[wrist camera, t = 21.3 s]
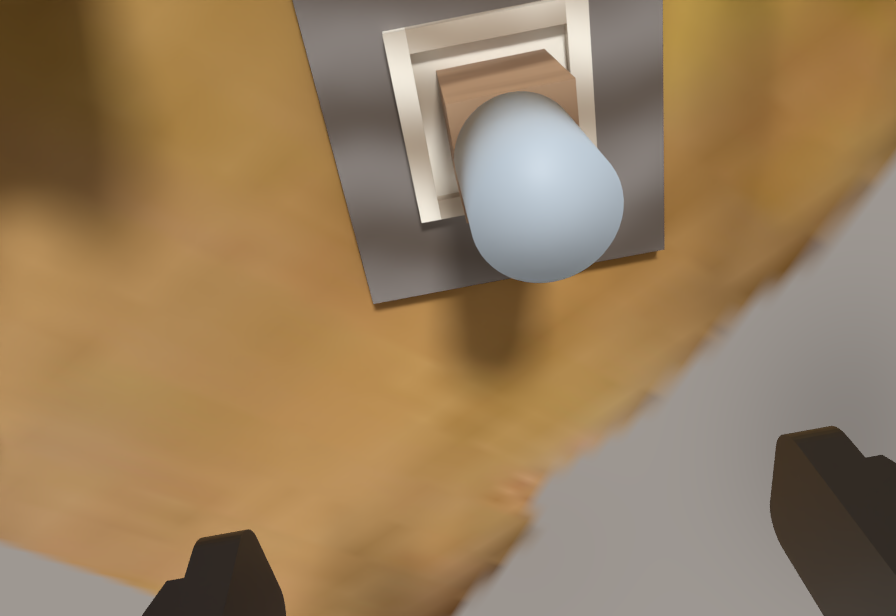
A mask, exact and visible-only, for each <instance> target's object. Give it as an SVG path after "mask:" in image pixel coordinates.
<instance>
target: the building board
mask: <svg viewBox="0 0 896 616" xmlns="http://www.w3.org/2000/svg"><path fill="white" fill-rule="evenodd" d="M293 4H294V8H295V12H296V15H297V19H298V23H299V27H300V30H301V34H302V38H303V42H304V45H305V49H306V53H307V57H308V60H309V64H310V68H311V72H312V75H313V79H314V83H315V87H316V90H317V94H318V98H319V101H320V105H321V109H322V113H323V116H324V120H325V124H326V128H327V131H328V135H329V139H330V143H331V146H332V150H333V154H334V158H335V161H336V165H337V169H338V173H339V176H340V180H341V184H342V188H343V191H344V195H345V199H346V203H347V206H348V210H349V214H350V218H351V221H352V225H353V229H354V233H355V236H356V240H357V244H358V248H359V251H360V255H361V259H362V263H363V266H364V270H365V274H366V278H367V281H368V285H369V289H370V293H371V296H372V300H373V304H376V303H381V302H386V301H392V300H397V299H402V298H408V297H413V296H418V295H424V294H429V293H434V292H440V291H445V290H450V289H456V288H461V287H466V286H472V285H477V284H482V283H488V282H493V281H498V280H504V279H509V278H510V277H508V276H506V275H504V274H502V273H500V272H499V271H497V270H496V269H494V268H493V267H492V266H491V265H490V264H489V263H488V262H487V261H486V260H485V259H484V258H483V256H482V255H481V254H480V252H479V250H478V249H477V247H476V245H475V242H474V240H473V237H472V233H471V229H470V225H469V223H466V219H465V214H464V210H463V206H462V202H461V198H460V194H459V190H458V186H457V182H456V178H455V173H454V168H453V162H452V157H451V151H450V146H449V140H448V135H447V129H446V124H445V118H444V113H443V107H442V102H441V96H440V91H439V85H438V80H437V74H436V70H441V69H446V68H451V67H456V66H461V65H466V64H471V63H476V62H481V61H486V60H491V59H496V58H501V57H506V56H511V55H516V54H521V53H526V52H531V51H535V50H540V49H545V50H546V51H547V52H548V53H549V54H551V55H552V56H553V57H554V58H555V59H556V60H557V61H558V62H559V63H560V64H561V65H562V66H563V67H564V68H565V69H566V70H567V71H569V72H570V73H571V74H572V75H573V76H574V77H575V78H576V90H577V102H578V115H579V127H580V128H581V130H582V131H583V132H584V133H585V134H586V136H587V137H588V138H589V139H590V140H591V141H592V143H593V144H594V145H595V146H596V147H597V148H598V150H599V151H600V152H601V153H602V154H603V156H604V157H605V158H606V159H607V160H608V161H609V163H610V164H611V165H612V167H613V168H614V170H615V171H616V173H617V175H618V177H619V180H620V182H621V186H622V190H623V197H624V210H623V216H622V220H621V224H620V227H619V229H618V232H617V234H616V236H615V238H614V240H613V241H612V243H611V245H610V246H609V247H608V249H607V250H606V251H605V252H604V254H603V255H602V256H601V257H600V258H599V259H598V260H597V261H595V262H600V261H605V260H610V259H616V258H621V257H626V256H632V255H637V254H642V253H648V252H653V251H658V250H664V131H663V0H293Z"/></svg>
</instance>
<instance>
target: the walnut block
mask: <svg viewBox="0 0 896 616" xmlns="http://www.w3.org/2000/svg"><path fill="white" fill-rule="evenodd" d="M436 74H437V80H438V85H439V91H440V96H441V102H442V107H443V113H444V118H445V124H446V129H447V135H448V140H449V146H450V151H451V157H452V162H453V168H454V173H455V178H456V182H457V186H458V190H459V194H460V198H461V202H462V206H463V210H464V214H465V219H466V223H469V221H468V217H467V213H466V209H465V205H464V201H463V197H462V193H461V189H460V185H459V182H458V178H457V174H456V170H455V163H454V151H455V145H456V141H457V137H458V135H459V132H460V130H461V128H462V126H463V125H464V123H465V121H466V120H467V119H468V117H469V116H470V115H471V114H472V113H473V112H474V111H475V110H476V109H477V108H478V107H479V106H480V105H482V104H483V103H484V102H486V101H488V100H490V99H491V98H493V97H496V96H498V95H501V94H505V93H508V92H516V91H527V92H534V93H538V94H541V95H544V96H546V97H548V98H550V99H552V100H554V101H555V102H557V103H558V104H559V105H560V106H561V107H562V108H563V109H564V110H565V111H566V112H567V113H568V114H569V116H570V117H571V118H572V119H573V120H574V121H575V123H576V124H577V125H578V126H579V115H578V102H577V90H576V78H575V77H574V76H573V75H572V74H571V73H570V72H569V71H567V70H566V69H565V68H564V67H563V66H562V65H561V64H560V63H559V62H558V61H557V60H556V59H555V58H554V57H553V56H552V55H551V54H549V53H548V52H547V51H546V50H545V49H540V50H535V51H531V52H526V53H521V54H516V55H511V56H506V57H501V58H496V59H491V60H486V61H481V62H476V63H471V64H466V65H461V66H456V67H451V68H446V69H441V70H436Z"/></svg>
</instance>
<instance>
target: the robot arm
mask: <svg viewBox="0 0 896 616" xmlns="http://www.w3.org/2000/svg"><path fill="white" fill-rule="evenodd" d="M770 513H771V518H772V523H773V527H774V530H775V533H776V535H777V538H778V540H779V542H780V544H781V546H782V548H783V549H784V551H785V553H786V555H787V556H788V558H789V559H790V561H791V563H792V564H793V566H794V568H795V569H796V571H797V573H798V574H799V576H800V578H801V579H802V581H803V582H804V584H805V586H806V587H807V589H808V591H809V592H810V594H811V595H812V597H813V599H814V600H815V602H816V604H817V605H818V607H819V609H820V610H821V612H822V614H823V615H824V616H896V463H895V462H893V461H892V460H890V459H888V458H887V457H885V456H883V455H878V456H873V457H867V458H865V457H864V456H863V455H862V453H861V452H860V451H859V450H858V448H857V447H856V446H855V445H854V444H853V443H852V441H851V440H850V439H849V438H848V437H847V436H846V435H845V433H844V432H843V431H841V430H840V429H839V428H837V427H834V426H829V427H823V428H818V429H812V430H806V431H801V432H795V433H790V434H784V435H781V436H780V437H779V438H778V440H777V444H776V452H775V461H774V471H773V481H772V490H771V500H770ZM142 616H286V610H285V603H284V598H283V594H282V591H281V589H280V586H279V584H278V582H277V580H276V578H275V576H274V574H273V571H272V569H271V567H270V565H269V563H268V561H267V559H266V557H265V554H264V552H263V550H262V548H261V546H260V544H259V542H258V539H257V537H256V536H255V534H254V533H253V531H251V530H249V529H248V530H242V531H237V532H231V533H226V534H220V535H215V536H209V537H203V538H200V539H199V540H198V541H197V542H196V544H195V546H194V548H193V551H192V554H191V557H190V561H189V564H188V567H187V571H186V574H185V577H184V578H181V579H176V580H170V581H166V583H165V584H164V586H163V587H162V588H161V590H160V591H159V593H158V594H157V595H156V597H155V598H154V599H153V601H152V602H151V604H150V605H149V607H148V608H147V609H146V611H145V612H144V613H143V615H142Z"/></svg>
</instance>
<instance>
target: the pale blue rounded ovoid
mask: <svg viewBox="0 0 896 616" xmlns="http://www.w3.org/2000/svg"><path fill="white" fill-rule="evenodd" d="M454 163H455V170H456V174H457V178H458V182H459V185H460V189H461V193H462V197H463V201H464V205H465V209H466V213H467V217H468V221H469V225H470V229H471V233H472V237H473V240H474V242H475V245H476V247H477V249H478V250H479V252H480V254H481V255H482V256H483V258H484V259H485V260H486V261H487V262H488V263H489V264H490V265H491V266H492V267H493V268H494V269H496V270H497V271H499V272H500V273H502V274H504V275H506V276H508V277H510V278H513V279H516V280H519V281H524V282H531V283H547V282H554V281H558V280H562V279H565V278H568V277H571V276H573V275H575V274H577V273H579V272H581V271H583V270H584V269H586V268H588V267H589V266H590V265H592V264H593V263H594V262H595V261H597V260H598V259H599V258H600V257H601V256H602V255H603V254H604V252H605V251H606V250H607V249H608V247H609V246H610V245H611V243H612V241H613V240H614V238H615V236H616V234H617V232H618V229H619V227H620V224H621V220H622V216H623V210H624V197H623V190H622V186H621V182H620V180H619V177H618V175H617V173H616V171H615V170H614V168H613V167H612V165H611V164H610V163H609V161H608V160H607V159H606V158H605V157H604V156H603V154H602V153H601V152H600V151H599V150H598V148H597V147H596V146H595V145H594V144H593V143H592V141H591V140H590V139H589V138H588V137H587V136H586V134H585V133H584V132H583V131H582V130H581V128H580V127H579V126H578V125H577V124H576V123H575V121H574V120H573V119H572V118H571V117H570V116H569V114H568V113H567V112H566V111H565V110H564V109H563V108H562V107H561V106H560V105H559V104H558V103H557V102H555V101H554V100H552V99H550V98H548V97H546V96H544V95H541V94H538V93H534V92H527V91H516V92H508V93H505V94H501V95H498V96H496V97H493V98H491V99H490V100H488V101H486V102H484V103H483V104H482V105H480V106H479V107H478V108H477V109H476V110H475V111H474V112H473V113H472V114H471V115H470V116H469V117H468V119H467V120H466V121H465V123H464V125H463V126H462V128H461V130H460V132H459V135H458V137H457V141H456V145H455V151H454Z"/></svg>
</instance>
